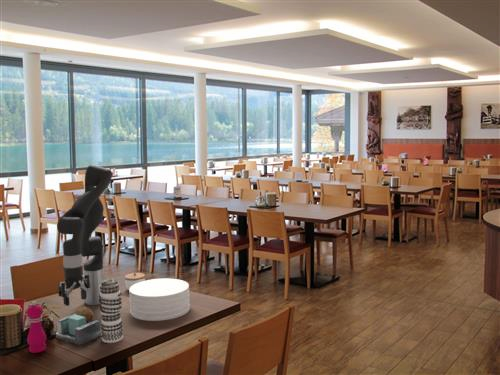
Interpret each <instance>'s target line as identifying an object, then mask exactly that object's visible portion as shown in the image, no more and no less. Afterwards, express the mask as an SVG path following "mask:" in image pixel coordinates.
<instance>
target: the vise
mask: <svg viewBox="0 0 500 375" xmlns="http://www.w3.org/2000/svg"><path fill="white" fill-rule="evenodd" d="M101 332H102V329H101V320H98V319H95V320H93V321H90V322H86V324H85V325H83V326H80V327H78V328H75V335H73V334H69V331H68V332H65V333H63V334H61V333H58V331H57V332H55V338H56V339H59V340H62V341H66V342H67V343H72V344H75V345H78V346H81V345H83V344H86V343H89V342H91V341H93V340H95V339H97V338H99V337H102V333H101Z"/></svg>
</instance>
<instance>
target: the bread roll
mask: <svg viewBox="0 0 500 375" xmlns="http://www.w3.org/2000/svg"><path fill="white" fill-rule="evenodd" d="M72 314H78V315H79V316H83V317H86V323H90V322H92V320H93V319H94V313H93V311H92V310H91V308H89V307H86V306H79V307H76V308H75V310H74V311H72V312H71V314H70V315H72Z"/></svg>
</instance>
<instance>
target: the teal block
mask: <svg viewBox="0 0 500 375" xmlns="http://www.w3.org/2000/svg"><path fill="white" fill-rule="evenodd" d="M68 321H69V334H73V335H75V328H78V327H80V326H83V325H85V324H87V322H86V317H83V316H79V315H74V316H71V317H69V318H68Z"/></svg>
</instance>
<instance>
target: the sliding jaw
mask: <svg viewBox="0 0 500 375" xmlns="http://www.w3.org/2000/svg"><path fill="white" fill-rule="evenodd" d="M74 315H78V314H72V315H71V314H70V315H68V316H65V317H62V318H60V319H57V320H56V328H57V332H58V333H61V334H63V333H65V332H68V331H69V321H68V318H69V317H71V316H74Z"/></svg>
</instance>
